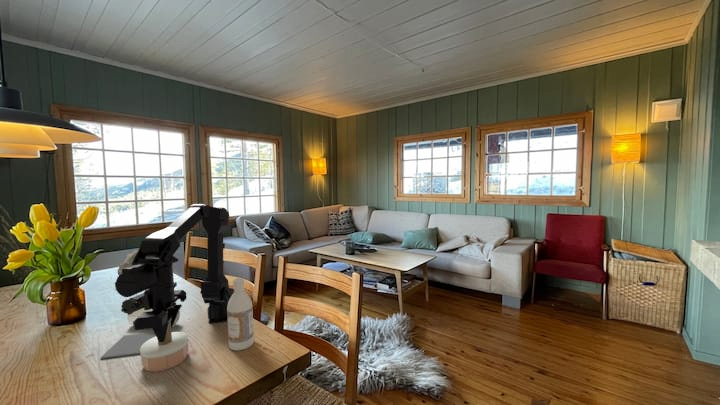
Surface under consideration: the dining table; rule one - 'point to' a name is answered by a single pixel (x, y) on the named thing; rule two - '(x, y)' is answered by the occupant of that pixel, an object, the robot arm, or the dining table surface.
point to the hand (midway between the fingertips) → (164, 338)
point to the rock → (128, 261)
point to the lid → (164, 345)
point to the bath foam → (240, 318)
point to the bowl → (165, 361)
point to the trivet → (128, 345)
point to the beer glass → (136, 314)
